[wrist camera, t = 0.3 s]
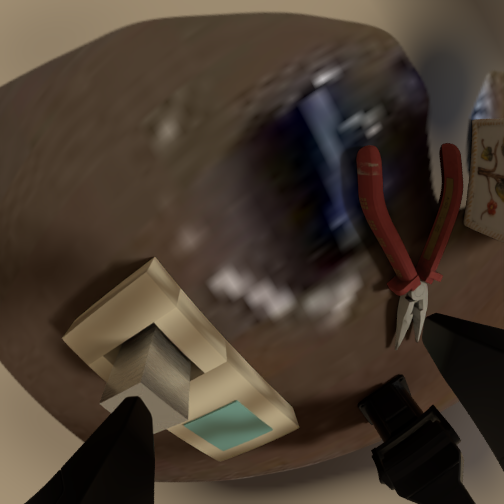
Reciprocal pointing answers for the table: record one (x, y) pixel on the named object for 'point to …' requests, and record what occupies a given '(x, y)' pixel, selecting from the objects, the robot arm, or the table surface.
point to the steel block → (151, 377)
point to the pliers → (407, 277)
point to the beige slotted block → (202, 363)
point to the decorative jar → (486, 179)
